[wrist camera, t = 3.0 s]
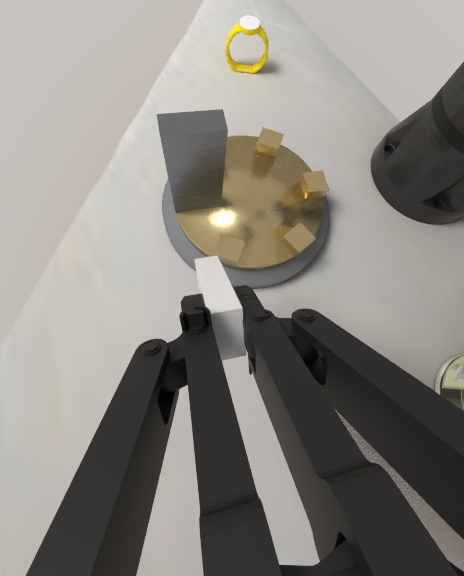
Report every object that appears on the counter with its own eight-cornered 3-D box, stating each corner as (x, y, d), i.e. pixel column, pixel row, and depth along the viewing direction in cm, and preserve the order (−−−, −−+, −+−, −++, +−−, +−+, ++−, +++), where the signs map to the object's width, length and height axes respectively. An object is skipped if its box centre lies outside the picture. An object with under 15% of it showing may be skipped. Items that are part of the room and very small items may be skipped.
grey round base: (300, 141, 38) (304, 131, 36) (344, 273, 32) (351, 268, 31) (154, 154, 35) (152, 144, 33) (176, 302, 30) (174, 298, 28)
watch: (225, 76, 41) (225, 28, 35) (226, 63, 41) (225, 14, 36) (265, 77, 41) (271, 30, 35) (265, 64, 42) (271, 15, 36)
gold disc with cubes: (298, 139, 36) (339, 36, 25) (337, 257, 31) (409, 196, 20) (165, 151, 33) (145, 43, 22) (187, 282, 29) (174, 226, 18)
